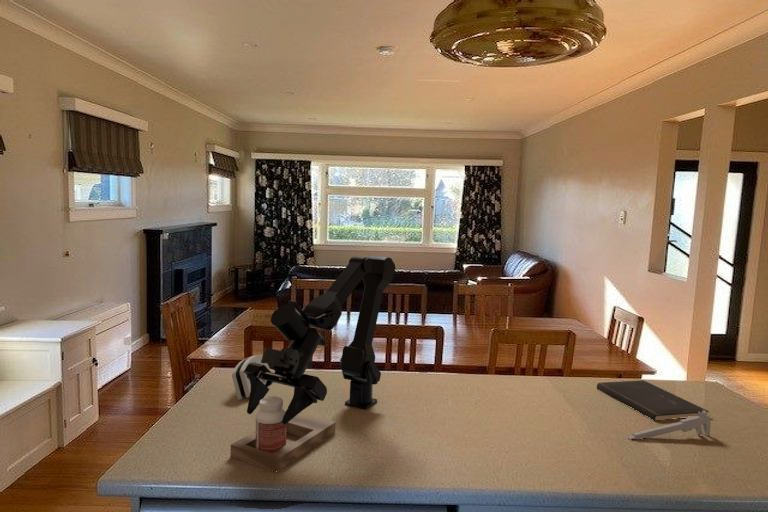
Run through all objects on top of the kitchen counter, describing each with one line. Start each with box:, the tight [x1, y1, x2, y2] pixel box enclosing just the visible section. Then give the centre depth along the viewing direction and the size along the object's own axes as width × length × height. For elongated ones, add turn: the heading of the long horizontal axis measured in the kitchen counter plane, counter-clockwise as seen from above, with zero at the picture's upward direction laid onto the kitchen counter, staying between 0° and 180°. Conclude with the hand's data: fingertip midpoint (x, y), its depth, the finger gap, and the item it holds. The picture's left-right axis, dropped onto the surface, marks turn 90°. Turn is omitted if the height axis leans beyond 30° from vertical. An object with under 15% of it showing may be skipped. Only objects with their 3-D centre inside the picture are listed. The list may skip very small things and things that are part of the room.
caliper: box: [627, 410, 712, 440], centre depth 114 cm, size 20×1×6 cm, turn 99°
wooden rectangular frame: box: [230, 412, 336, 473], centre depth 106 cm, size 20×12×2 cm, turn 151°
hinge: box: [231, 354, 275, 400], centre depth 138 cm, size 17×5×10 cm, turn 172°
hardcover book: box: [596, 379, 710, 421], centre depth 136 cm, size 16×23×2 cm
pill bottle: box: [255, 396, 287, 454], centre depth 101 cm, size 6×6×11 cm
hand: (265, 418), depth 100 cm, fingers open, 9 cm apart
